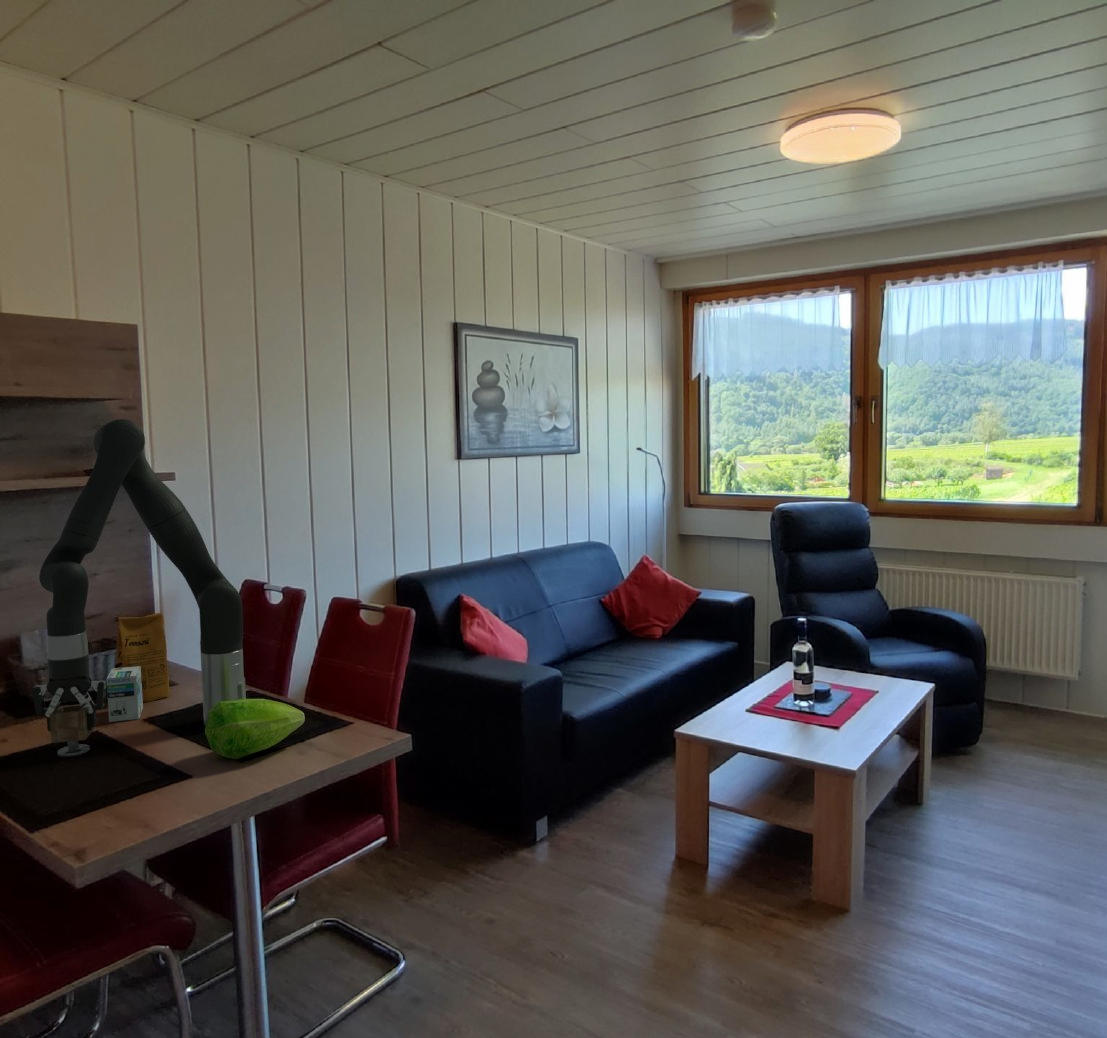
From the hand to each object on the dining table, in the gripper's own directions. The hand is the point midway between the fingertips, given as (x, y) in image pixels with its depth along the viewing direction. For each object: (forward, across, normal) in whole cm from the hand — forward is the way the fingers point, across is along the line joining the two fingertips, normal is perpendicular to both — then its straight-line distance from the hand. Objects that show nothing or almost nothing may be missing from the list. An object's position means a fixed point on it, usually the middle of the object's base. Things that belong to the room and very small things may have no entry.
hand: (72, 730), depth 178 cm
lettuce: (+5, -38, +12) cm, 40 cm away
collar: (+1, 0, 0) cm, 1 cm away
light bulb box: (+5, -5, -25) cm, 26 cm away
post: (+5, 0, 0) cm, 5 cm away
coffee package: (+5, -6, -39) cm, 40 cm away
